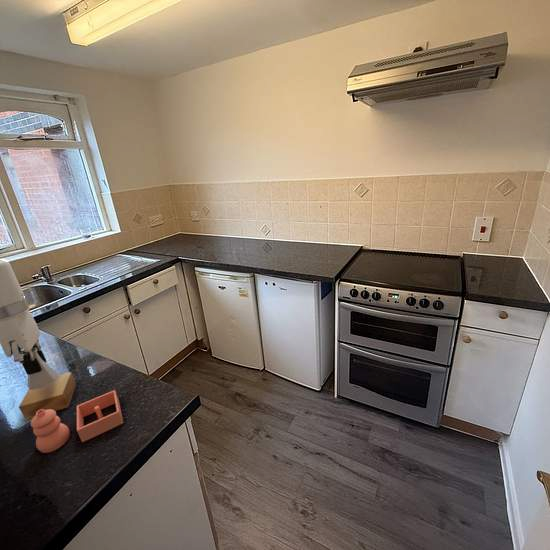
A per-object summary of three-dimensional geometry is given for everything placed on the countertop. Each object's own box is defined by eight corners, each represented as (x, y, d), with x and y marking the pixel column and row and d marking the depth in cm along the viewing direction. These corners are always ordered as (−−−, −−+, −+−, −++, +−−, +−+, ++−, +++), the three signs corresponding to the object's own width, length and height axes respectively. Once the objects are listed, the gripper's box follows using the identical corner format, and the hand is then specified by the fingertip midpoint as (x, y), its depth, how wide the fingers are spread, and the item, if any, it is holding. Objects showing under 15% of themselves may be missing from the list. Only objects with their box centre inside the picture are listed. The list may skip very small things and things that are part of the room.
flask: (26, 394, 78) (10, 363, 74) (29, 379, 84) (14, 350, 80) (59, 382, 81) (45, 351, 78) (59, 368, 87) (46, 339, 84)
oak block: (26, 421, 79) (18, 407, 78) (38, 396, 88) (32, 383, 86) (68, 408, 82) (62, 394, 81) (76, 385, 91) (71, 372, 89)
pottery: (119, 401, 83) (108, 373, 79) (123, 424, 75) (112, 393, 72) (41, 435, 74) (25, 405, 71) (37, 465, 67) (19, 433, 63)
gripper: (5, 299, 80) (31, 355, 87) (-28, 327, 66) (8, 392, 73) (37, 292, 83) (61, 348, 89) (13, 318, 68) (43, 382, 75)
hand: (37, 367), depth 81 cm, fingers closed on flask, 3 cm apart
